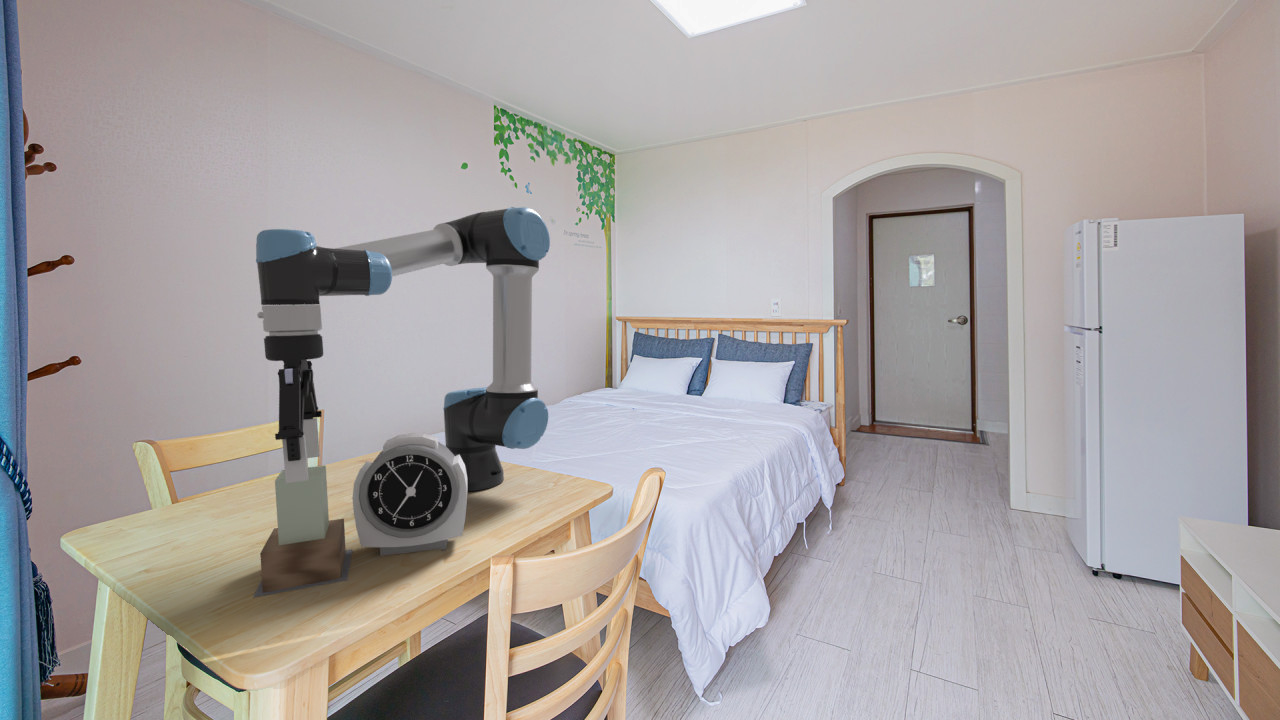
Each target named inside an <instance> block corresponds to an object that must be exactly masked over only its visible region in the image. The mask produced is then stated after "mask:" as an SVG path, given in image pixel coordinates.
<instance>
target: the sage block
mask: <svg viewBox="0 0 1280 720" xmlns="http://www.w3.org/2000/svg"><path fill="white" fill-rule="evenodd" d="M327 481H328V480H327V466H326V465H319V466H318V465H317V466H310V467H309V466H308V480H307V481H299V482H291V483H286V478H285V469H282V470H281V472H280V473H279V474H278V476H277V477H276V479H275V480H274V488H275V490H274V492H275V504H276V520H277V528H278V538H279V545H285V544H291V543H298V542H304V541H311V540H317V539H324V538H325V536H326V533H327V530H328V526H329V520H330V517H329V501H328V482H327Z"/></svg>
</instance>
